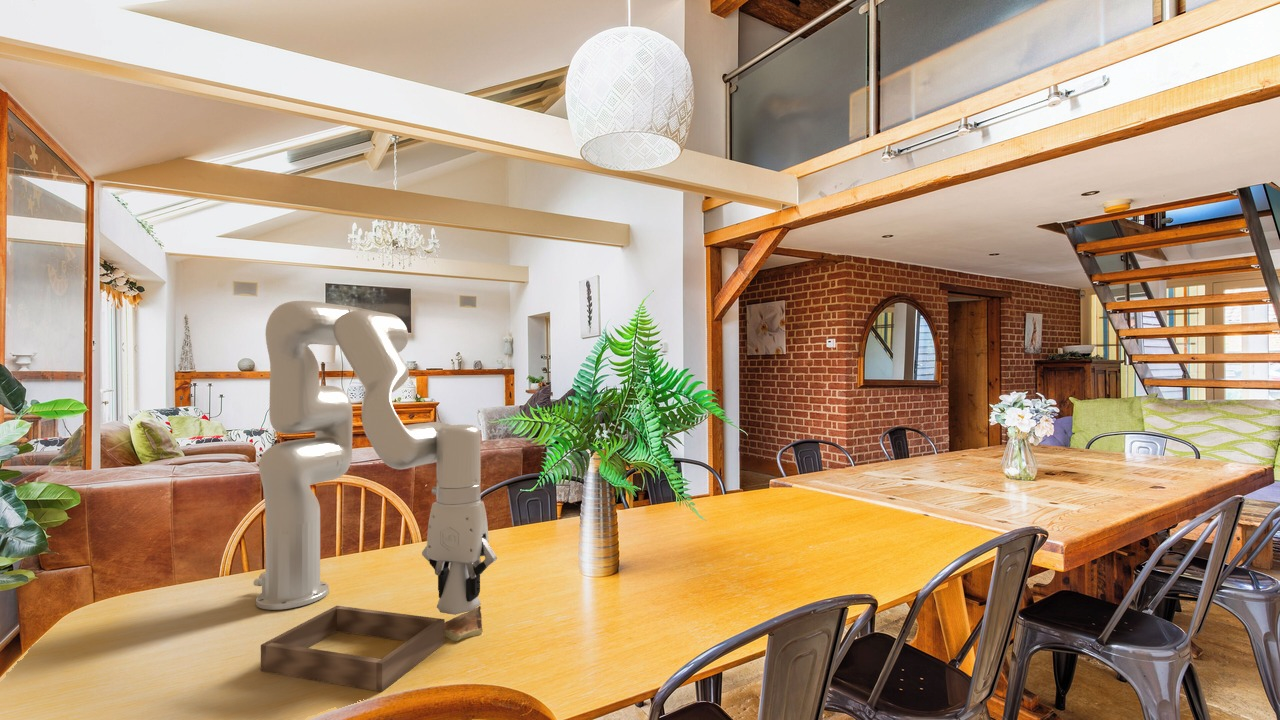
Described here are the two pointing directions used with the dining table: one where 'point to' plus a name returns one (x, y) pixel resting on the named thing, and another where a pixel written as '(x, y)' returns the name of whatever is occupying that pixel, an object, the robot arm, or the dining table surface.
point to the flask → (456, 592)
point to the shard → (464, 625)
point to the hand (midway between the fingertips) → (459, 595)
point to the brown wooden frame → (351, 670)
